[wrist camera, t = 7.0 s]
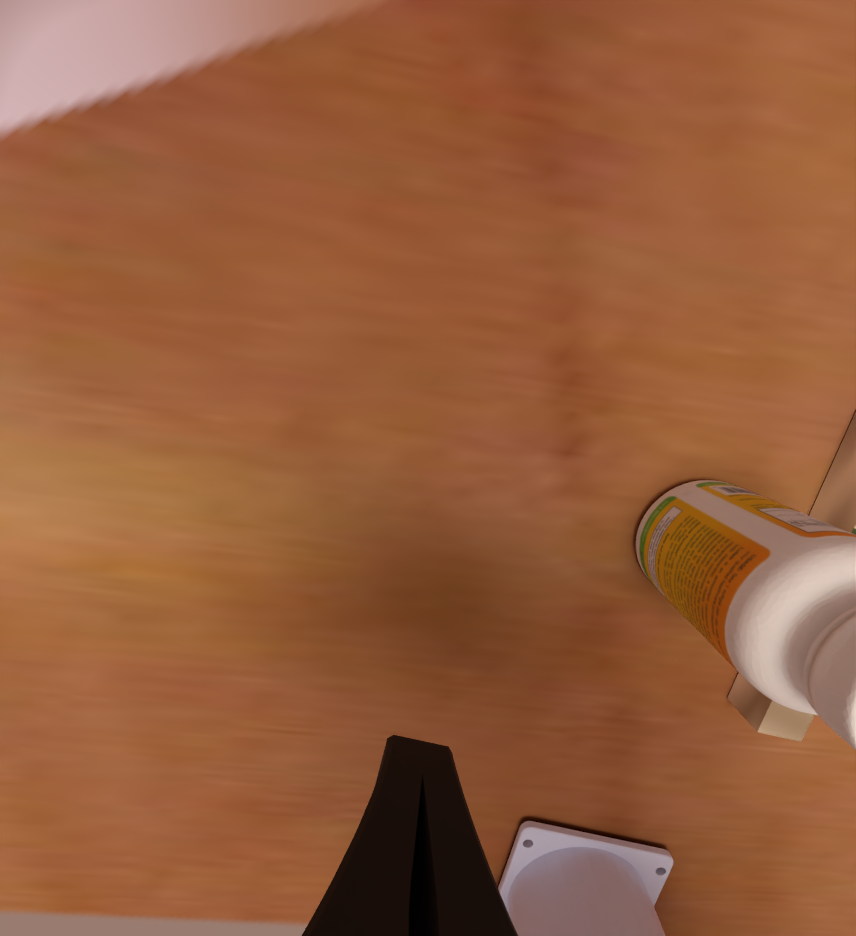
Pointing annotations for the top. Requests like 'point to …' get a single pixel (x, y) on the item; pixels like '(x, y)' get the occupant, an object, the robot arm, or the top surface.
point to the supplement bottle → (761, 592)
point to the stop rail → (846, 507)
